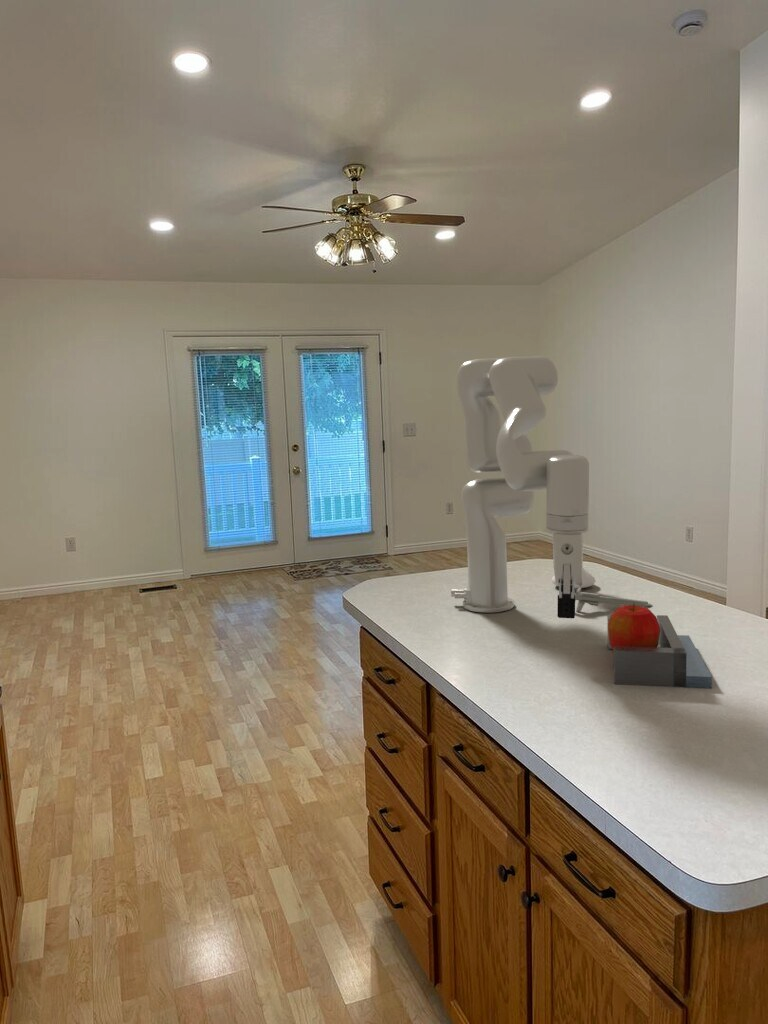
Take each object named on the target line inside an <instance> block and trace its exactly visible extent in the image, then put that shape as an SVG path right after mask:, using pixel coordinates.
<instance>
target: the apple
mask: <svg viewBox="0 0 768 1024" xmlns="http://www.w3.org/2000/svg"><path fill="white" fill-rule="evenodd" d="M610 615H611V616H610V619H609V622H608V624H607V623H606V624H607V625H608V633H609V640H610V643H611V646H612V649H611V650H612V652H613V653H614V646H628V647H657V646H658V644H659V635H660V627H659V624H658V621H657V615H655V614H654V613H653V611H652V610H650V609H649V608H648V607H640V606H634V603H633V605H621V606H619V607H618V608H617V609H615V610H614V611H613V612H612V613H611V614H610ZM607 625H606V626H607Z"/></svg>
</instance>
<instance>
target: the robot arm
mask: <svg viewBox="0 0 768 1024" xmlns="http://www.w3.org/2000/svg"><path fill="white" fill-rule="evenodd" d="M558 379H559V376H558V370H557V367H556V365H555V363H554V362H553V360H551V359H550V358H549V357H547V356H545V355H533V356H532V355H531V356H530V355H528V356H527V355H526V356H524V355H523V356H509V357H496V358H495V357H492V358H491V357H490V358H477V359H472V360H468V361H465V362H464V363H462V364H461V365H460V366H459V368H458V371H457V373H456V391H457V396H458V399H459V402H460V405H461V408H462V412H463V415H464V417H463V418H464V435H465V436H464V437H465V456H466V457H465V459H466V464H467V467H468V470H470V471H471V472H473V473H476V474H478V473H479V474H490V473H502V476H503V477H489V478H486V477H485V478H478V479H474V480H471V481H469V482H467V483H466V484H464V486H463V487H462V489H461V495H460V496H461V497H460V498H461V503H462V504H461V505H462V509H463V514H464V520H465V528H466V529H465V531H466V533H465V534H466V549H467V553H466V554H467V579H468V580H467V581H468V585H467V587H464V588H463V589H458V588H454V589H453V588H452V589H451V590H450V594H451V597H452V598H454V599H463V601H462V607H463V609H464V610H467V611H470V612H475V613H482V614H483V613H486V614H488V613H489V614H492V613H501V612H506V611H509V610H511V609H513V608H514V606H515V601H514V599H512V598H511V597H509V596H508V595H509V594H508V592H509V591H508V564H507V563H508V560H507V558H508V557H507V553H508V552H507V536H506V535H507V534H506V533H505V531H504V528H503V527H501V525H500V524H499V523H498V521H497V520H496V519H497V518H501V517H515V516H522V515H526V514H528V513H530V512H531V510H532V509H533V507H534V502H535V491H545V490H546V513H545V514H546V517H545V518H546V521H545V522H546V526H545V527H546V528H545V530H546V532H549V533H552V556H553V557H552V560H553V571H554V575H555V583H556V584H557V585H558V586H557V585H556V586H557V587H558V594H557V617H558V618H559V619H575V617H576V601H575V596H574V582H575V584H576V585H579V586H581V585H582V573H583V568H584V567H583V566H584V565H583V563H584V561H583V560H584V559H583V557H584V548H583V547H584V546H583V545H584V541H583V539H584V538H583V537H582V536H583V534H584V533H587V532H588V531H589V505H590V504H589V501H590V500H589V497H590V496H589V495H590V494H589V493H590V492H589V491H590V488H589V487H590V462H589V460H588V458H586V457H585V456H583V455H581V454H579V455H578V454H574V453H573V452H571V451H570V450H569V451H568V450H563V449H557V450H556V449H555V450H537V451H536V450H535V451H534V450H533V447H532V443H531V441H530V439H529V437H528V436H527V435H526V434H527V433H529V432H531V431H533V430H534V429H537V427H539V425H541V423H542V422H544V419H545V417H546V415H547V408H546V405H545V403H544V401H543V399H542V397H541V396H549V395H551V394H552V393H553V392H555V390H556V388H557V385H558ZM489 396H490V397H491V396H494V397H495V400H496V401H497V404H498V407H497V405H496V404H495V402H494V401H493V400H492V399H491V398H490V397H489ZM499 409H500V410H499ZM500 411H501V412H500ZM501 414H502V417H503V419H504V420H505V421H504V422H503V424H501V421H502V419H501Z"/></svg>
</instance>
